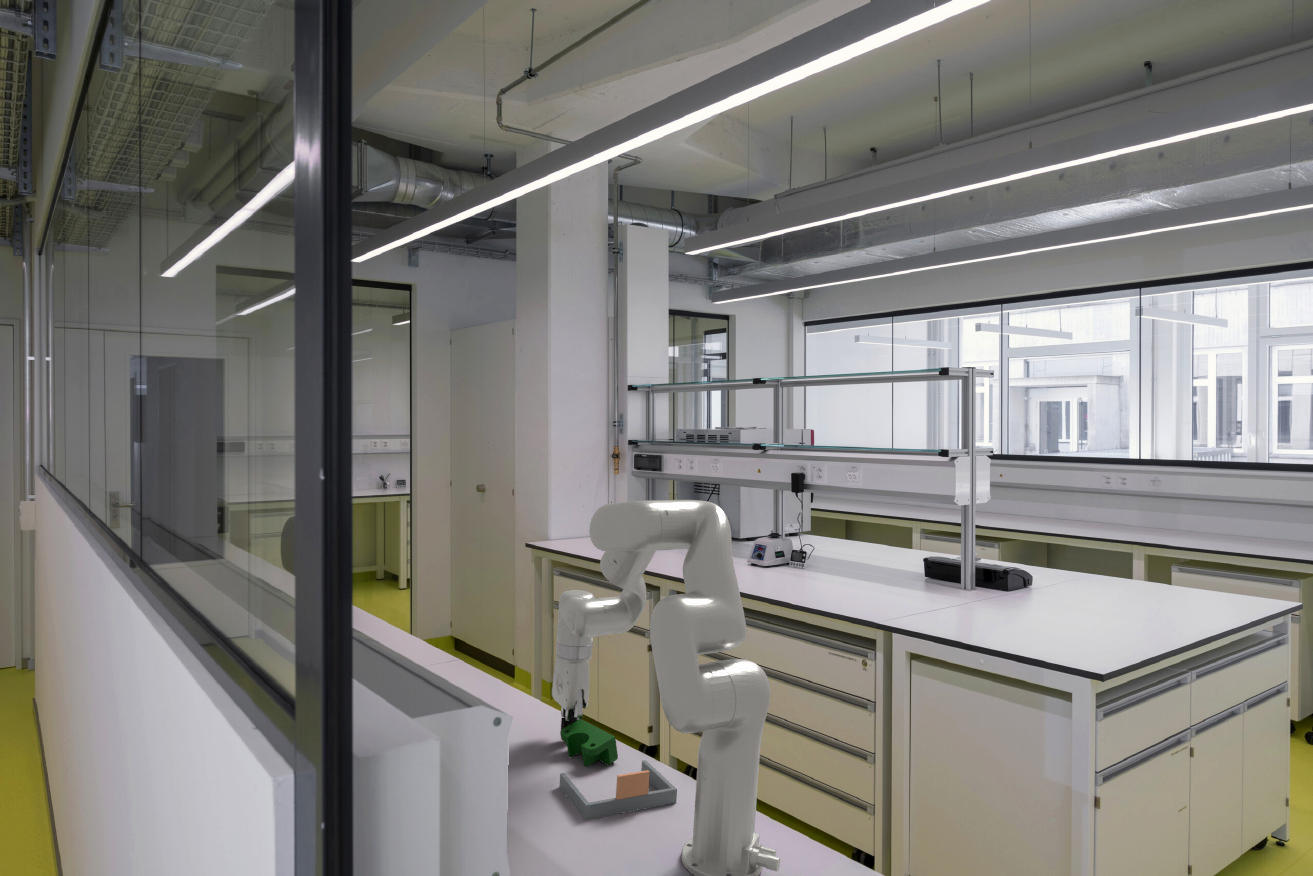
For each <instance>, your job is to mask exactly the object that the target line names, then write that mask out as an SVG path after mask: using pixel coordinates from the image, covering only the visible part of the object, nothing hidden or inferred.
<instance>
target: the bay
mask: <svg viewBox="0 0 1313 876" xmlns="http://www.w3.org/2000/svg"><path fill="white" fill-rule="evenodd" d="M650 783H651V784H652V785H653V787H655V789H657V790H653V791H649V788H650ZM615 786H616V788H615V790H616V791H615V797H614V798H613V797H611V798H608V799H607V798H605V799H603V800H602V799H601V800H596V801H589V800H587V799H586V797H585V796H584V795H583V794H582V793H581V791H580V790H579V789H578V787H577V786H576V785H575V784H574V782H573V781H572V780H571V779H570V778H569V777H568V776H567V774H566V773H565V772H561V773H559V786H558V787H559V788H560V790H561V791H562V793H563V794H564V793H565V794H566V795H567V796H566V795H565V794H564V795H565V796H566V797H567V798H568V800H569V801H570V803H571V804H572V805H573V807H574V808H575V809H576V810H577V811H578V813H579V814H580V815H581V817H582V818H583V819H584V820H585V821H588V820H593V819H597V818H598V819H599V818H604V817H609V816H614V815H620V814H619V813H621V814H624V813H623V812H626V813H629V811H631V812H634V811H633V810H637V809H638V810H637V811H640V810H639V809H642V810H645V809H644V808H647V809H652V808H657V806H658V807H662V806H667V805H666V804H668V805H672V804H671V803H674V804H677V797H678V788H677V787H675V785H673V783H671V782H670V780H668V779H667V778H666V777H665V776H664V775H662V773H660V772H659V771H658V770H657V769H656V768H655V767H654V766H653V765H652V764H651V763H649V761H648V760H646V759H642V760H641V769H640V771H635V772H630V773H623V774H617V775H616V785H615ZM649 807H650V808H649ZM651 807H652V808H651Z"/></svg>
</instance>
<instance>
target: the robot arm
mask: <svg viewBox="0 0 1313 876" xmlns="http://www.w3.org/2000/svg"><path fill="white" fill-rule="evenodd" d="M589 523H590V524H589V529H588V530H589V531H588V532H589V538H590V541H591V543H592V545H593V546H594V547H595V549H597V550H599V551H602V552H604V553H603V554H602V556H601V558H600V562H599V567H600V571H601V573H602V575H603V576H604V578H605V579H606V580H607V581H609V582H610V583H611V584H613V585H615V586H617V587H618V588H620V589H622V591H621V593H620V594H619V595H618V596H608V597H607V596H605V597H604V596H603V597H595V596H594V594H593V593H592V592H589V591H587V590H582V589H581V590H580V589H571V590H566V591H563V592H562V593H561V594H560V596H559V601H558V612H557V614H558V615H557V627H556V629H557V630H556V646H555V647H556V649H555V661H554V669H553V679H552V687H551V697H552V698H553V699H554V700H555V701H556V703H557V704H558V705H559V706H561V709H560V716H561V721H560V731H561V730H562V729H563V728H565V727H567V726H569V725H570V724H572V723H574V722H576V721H578V720H579V719H580V718H582V717H583V716H584V715H583V713H584V711H583V709H587V708H588V706H589V698H590V661H591V660H592V656H593V642H594V641H593V639H594V638H595V637H601V636H609V635H618V634H624V633H626V632H628V631H630V630H631V629H632V628H633V627H634V626H635V624H636V623H637V622H638V620H639V618H640V617H641V615H642V613H643V611H644V609H645V607H646V604H647V586H646V583H645V579H644V577H643V575H644V573H645V571H646V569H647V568H648V566H649V564H650V562H651V561H652V559H653V557H654V555H656V554H655V553H656V552H658V551H672V550H674V551H675V550H686V549H687V552H686V554H685V557H684V560H683V565H682V577H683V581H684V589H685V593H680V594H679V593H678V594H671V595H668V596H665V597H663V598H662V599H660V600H659V601H658V602H657V603H656V604H655V606H654V608H653V610H652V612H651V616H650V621H649V622H650V623H649V635H650V636H649V637H650V644H651V650H652V655H653V660H654V661H653V663H654V667H655V674H656V680H657V685H658V691H659V698H660V701H661V705H662V710H663V712H664V713H663V714H664V715H665V718H666V720H667V722H668V723H669V725H670V726H671V727H672V728H673V729H674V730H676V731H678V732H679V733H682V734H694V733H700V732H703V733H702V735H701V738H700V741H699V746H698V752H697V770H696V781H695V782H696V783H695V799H694V800H695V801H694V813H693V815H694V816H693V817H694V818H693V828H692V829H693V830H692V831H693V832H692V833H693V834H692V838H691V839H689V840H688V841H687V842H686V843H684V845H683V846H682V849H681V861H682V864H683V866H684V868H685V869H687V871H688V872H689V873H690V874H692V875H693V876H759V875H760V874H761V873H762V870H763V868H765V869H766V870H770V871H773V872H777V873H778V872H779V870H780V865H781V857H777V849H775V848H771V847H766V846H763V844H761V843H760V833H757V832H756V831H755V830H756V829H755V828H756V813H757V799H758V784H759V783H758V782H759V770H760V769H759V767H760V757H761V745H762V737H763V730H764V726H765V723H766V719H767V715H768V711H769V707H770V701H771V685H770V681H769V678H768V676H767V674H766V672H765V671H764V669H763V668H762V667H761V666H760V665H758V664H757V663H755V662H754V661H751V660H749V659H743V658H741V659H740V658H734V659H733V658H732V659H731V658H729V659H723V660H715V661H711V662H707V663H706V662H705V663H700V664H699V657H698V656H700V655H701V656H702V655H709V654H714V653H721V652H728V651H730V650H733V649H736V648H738V647H740V646H741V644H742V643H743V642H744V641H745V638H746V635H747V623H746V617H745V611H744V608H743V601H742V598H741V593H740V588H739V584H738V582H739V581H738V579H737V578H738V577H737V573H736V570H735V566H734V559H733V550H732V549H733V547H732V543H733V541H732V531H731V529H732V528H731V525H730V521H729V518H728V516H727V514H726V512H725V511H724V510H723V509H722V508H721V507H720V506H719V505H717V504H716V503H715V502H714V503H713V502H711V501H706V500H697V499H671V500H670V499H665V500H664V499H663V500H662V499H661V500H660V499H657V500H656V499H655V500H654V499H652V500H650V499H649V500H646V499H645V500H630V501H622V502H616V503H606V504H604V505H601V506H600V507H599V508H597V510H596V511H595V512H594V514H593V515H592V517H591V520H590V522H589ZM560 736H561V734H560Z"/></svg>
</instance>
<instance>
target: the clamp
mask: <svg viewBox="0 0 1313 876" xmlns="http://www.w3.org/2000/svg"><path fill="white" fill-rule="evenodd" d="M559 733H560V734H561V735H560V740H561V741H563V742H564V743H566V747H567V754H568V757H569V758H570V757H571V758H572V756H573V757H574V756H577V755H579V754H582V760H583V761H582V762H583V766H584V767H585V766H587V767H589V766H591V765H592V764H593V763H595V762H596V761H600V760H601V761H603V762H604V763H603V762H602V763H603V764H605V763H606V764H605V765H607V764H608V765H607V766H609V765H611V764H613V763H614V762H615V761H617V760H618V759H619V754H618V748H617V747H618V746H617V741H616V740H617V739H616V736H615V735H613V734H611V733H609V732H607V731H605V730H604V729H602V728H600V727H598V726H596V725H594V724H592V723H590V722H588V721H586V720H584V719H582V718H579V720H578V721H576V722H574V723H572V724H570V725H569V726H567V727H565V728H563V729H562V730H561V729H560V731H559ZM598 759H599V760H598ZM601 761H600V762H601Z"/></svg>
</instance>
